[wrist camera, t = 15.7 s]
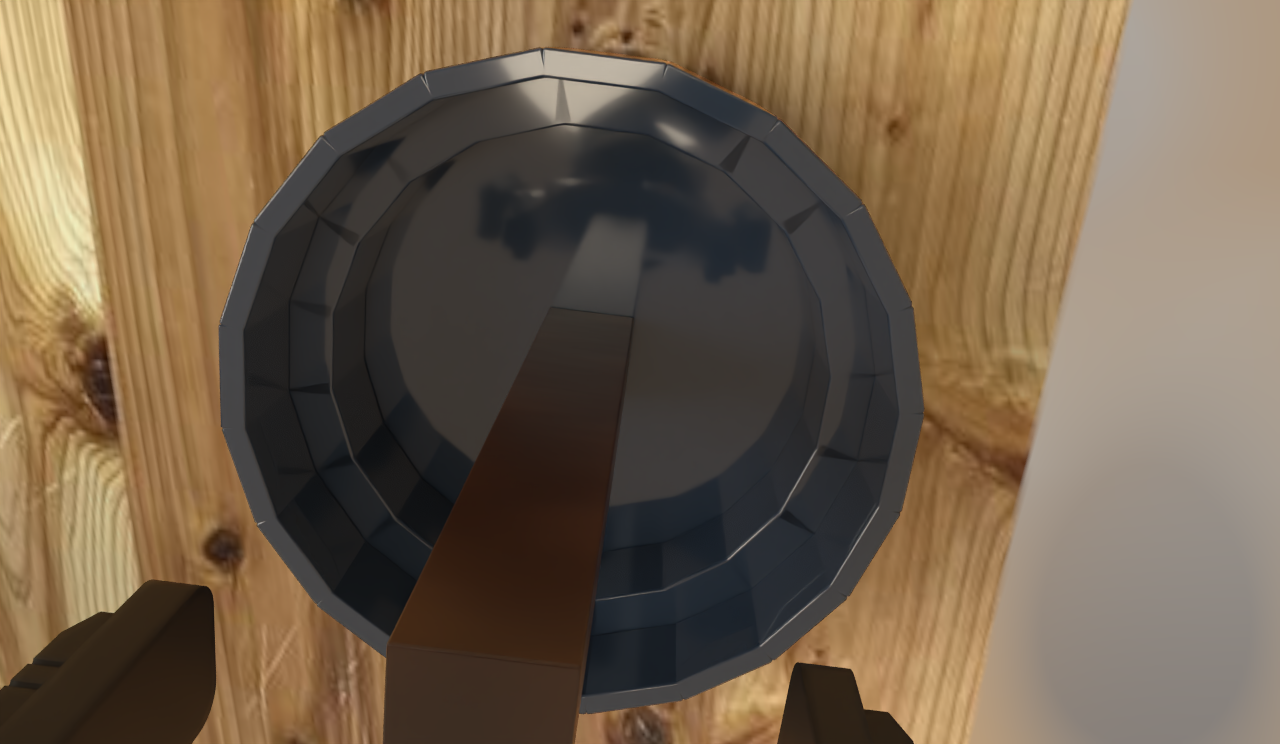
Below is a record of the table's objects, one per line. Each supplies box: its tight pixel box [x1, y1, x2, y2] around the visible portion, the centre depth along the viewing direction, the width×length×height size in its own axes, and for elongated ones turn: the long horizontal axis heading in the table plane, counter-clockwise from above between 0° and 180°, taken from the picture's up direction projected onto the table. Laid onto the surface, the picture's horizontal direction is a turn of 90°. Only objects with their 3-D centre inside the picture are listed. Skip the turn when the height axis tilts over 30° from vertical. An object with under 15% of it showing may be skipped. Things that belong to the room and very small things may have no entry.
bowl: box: [219, 47, 925, 714], centre depth 25 cm, size 16×16×6 cm
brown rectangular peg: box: [383, 307, 634, 744], centre depth 19 cm, size 2×2×16 cm
